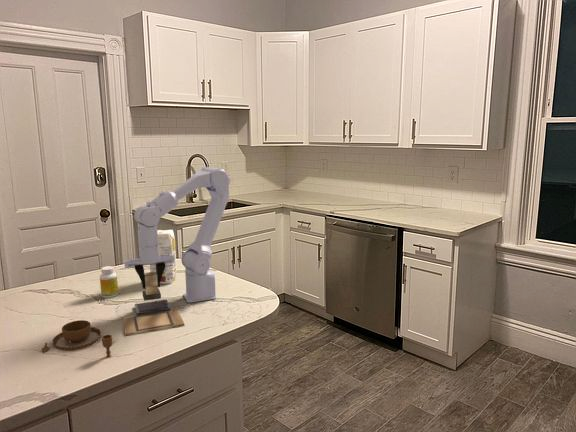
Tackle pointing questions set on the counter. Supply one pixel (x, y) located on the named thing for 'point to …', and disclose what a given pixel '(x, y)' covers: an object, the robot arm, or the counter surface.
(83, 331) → the place setting
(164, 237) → the juice carton
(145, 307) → the ink pad
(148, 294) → the stamp
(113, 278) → the supplement bottle
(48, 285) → the counter surface
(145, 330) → the marked board
